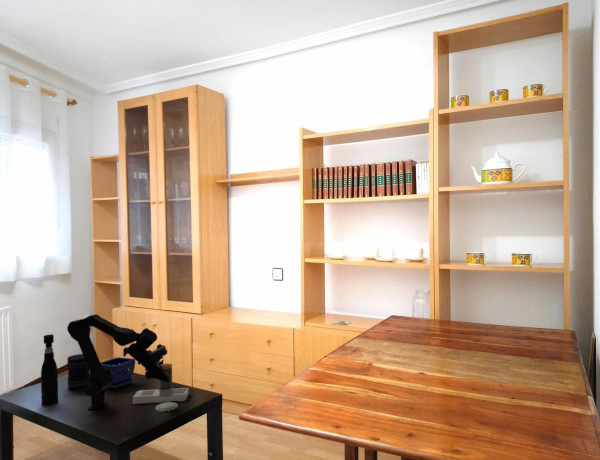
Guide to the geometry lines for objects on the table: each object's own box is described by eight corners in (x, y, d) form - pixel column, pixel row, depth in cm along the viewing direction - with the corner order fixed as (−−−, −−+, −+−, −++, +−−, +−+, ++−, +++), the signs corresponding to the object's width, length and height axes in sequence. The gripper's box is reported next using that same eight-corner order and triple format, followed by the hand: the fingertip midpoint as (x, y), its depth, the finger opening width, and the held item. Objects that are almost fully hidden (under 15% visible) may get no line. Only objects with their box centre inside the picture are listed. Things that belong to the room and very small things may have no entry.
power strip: (185, 401, 190) (185, 393, 190) (132, 403, 188) (132, 396, 188) (188, 394, 198) (188, 387, 198) (138, 397, 196) (138, 390, 196)
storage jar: (94, 383, 217) (93, 353, 217) (82, 390, 207) (81, 359, 207) (76, 383, 218) (75, 353, 218) (63, 390, 208) (62, 359, 209)
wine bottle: (61, 400, 196) (59, 333, 196) (53, 405, 189) (52, 336, 190) (46, 400, 195) (45, 334, 196) (38, 406, 189) (37, 337, 189)
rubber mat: (175, 411, 179) (175, 409, 179) (153, 412, 178) (153, 411, 178) (179, 403, 188) (179, 401, 188) (158, 404, 187) (158, 402, 187)
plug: (171, 396, 181) (170, 366, 181) (157, 397, 180) (157, 367, 180) (174, 392, 186) (173, 363, 186) (161, 392, 186) (160, 363, 186)
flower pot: (95, 388, 210) (95, 363, 211) (117, 379, 223) (117, 356, 223) (115, 391, 205) (115, 366, 205) (137, 382, 217) (136, 358, 217)
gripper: (152, 345, 173) (182, 370, 176) (157, 335, 192) (183, 358, 194) (132, 367, 172) (162, 392, 174) (139, 354, 190) (165, 377, 192)
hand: (169, 378), depth 183 cm, fingers closed on plug, 5 cm apart
